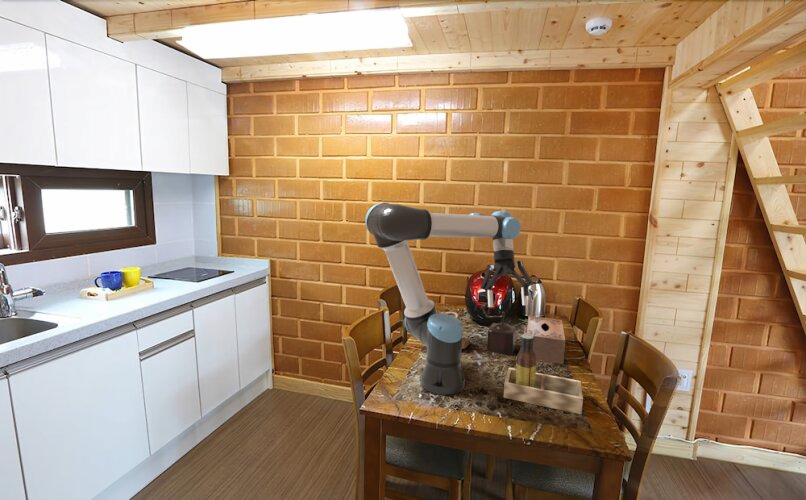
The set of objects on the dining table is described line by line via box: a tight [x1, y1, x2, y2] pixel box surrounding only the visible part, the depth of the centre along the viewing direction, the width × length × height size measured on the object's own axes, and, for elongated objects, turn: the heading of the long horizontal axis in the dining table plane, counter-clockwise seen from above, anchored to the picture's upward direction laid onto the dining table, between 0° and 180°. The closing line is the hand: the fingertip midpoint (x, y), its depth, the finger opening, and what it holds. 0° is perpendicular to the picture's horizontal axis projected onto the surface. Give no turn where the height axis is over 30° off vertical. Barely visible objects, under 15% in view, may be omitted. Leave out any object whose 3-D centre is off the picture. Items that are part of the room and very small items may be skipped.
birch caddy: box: [503, 367, 584, 415], centre depth 123 cm, size 23×12×5 cm, turn 68°
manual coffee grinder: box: [481, 302, 517, 356], centre depth 160 cm, size 16×11×18 cm
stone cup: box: [441, 311, 471, 350], centre depth 160 cm, size 15×12×15 cm
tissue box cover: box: [526, 315, 566, 365], centre depth 161 cm, size 26×14×10 cm, turn 160°
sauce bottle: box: [515, 333, 537, 388], centre depth 124 cm, size 7×6×20 cm
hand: (507, 306), depth 141 cm, fingers open, 13 cm apart
